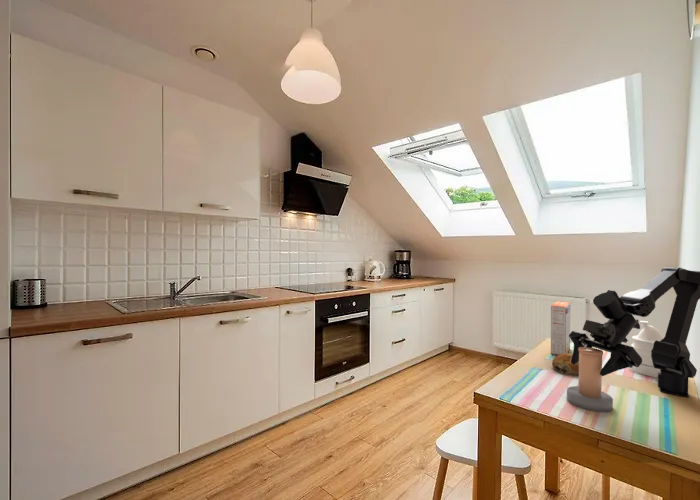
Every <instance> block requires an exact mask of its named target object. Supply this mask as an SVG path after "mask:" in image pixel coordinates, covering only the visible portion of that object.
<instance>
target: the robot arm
mask: <svg viewBox="0 0 700 500" xmlns="http://www.w3.org/2000/svg"><path fill="white" fill-rule="evenodd" d="M672 288H673V291H674V293H675V294H676V296H675V300H674V303H673V307H672V310H671V314H670V317H669V320H668V321H669V322H668V325H667V327H666V330H665V336H664V337H663V339H662V340H661V341H657V340H656V341H655V342H654V346H653V349H652V351H651V352H652V353H651V358H652V362H653V366H654V368H657V369H660V373H658V377H657V388H659V391H660V392H662V393H666V394H671V395H675V396H681V397H685V398H690V394H689V378H690V379H693V378H695V377H696V375H697V373H698V370H697V368H696V367H695V366H694V364H693V363H692V362H691V359H690V357H691V353H690V351H689V347H688V346H687V341H688V338H689V333H690V330H691V327H692V326H691V325H692V322H693V320H694V319H693V318H694V316H695V312H696V309H697V308H696V307H697V305H698V301H699V300H700V271H698V270H689V269H685V268H682V267H672V266H666V267H663V268H662V269H661V271H660V272H659V273H658V274H657V275H655V277H652V279H651V280H649V281H648V282H647V283H645V284H644V285H643V286H641V287H640V288H639V289H637V290H636V289H635V290H631V291H628V292H627V293H625V294H622V295H620V296H619V295H618V292H617V291H615V290H610V289H609V290H607V291H606V292H602V293H600V294H598V295H596V296H594V298H593V300H592V303H593V305H594V306H595V307H596V308H597V309H598V311H599V312H600V314H602V316H603V317H604V318H606V319H607V322H604V323H601V322H599V321H593V320H589V319H586V320H585V322H584V324H583V327H582V331H585V333H584V332H581V331H577V330H572V331H570V334H569V337H570V342H572V343H573V351H572V354H573V355H572V359H571V363H572V364H573V365H574V364H576V363H577V362H578V361H579V351H578V348H579V347H590V348H595V349H599V350H601V351H603V352H604V351H605V352H607V353H609V354H610V356H609V359H608V360H607V361H606V362H605V364H604V365H603V366H602V370H601V371H600V375H601V376H602V377H604V376H607V375H609V374H613V373H615V372H617V371H621V370H624V369H628V368H627V367H630V368H632V367H633V366H635V367H639V366H640V364H641V363H642V358H641V356H640V355H639V354H638V353H637V352H636V350H635V349H634V348H633V347H631V345H627V342H629V340H628V338H627V336H628V335H629V334H630V332H631V331H632V329H636V330H641V325H640V323H639V319H637V318H636V317H634V316H637V317H642V318H646V317H648V316H649V315H650V314H651V313H652V312H653V311H654V310H655V309H656V302H657V301H658V300H659V299H660V298H661V297H662V296H664V295H665V294H666V293H667V292H669V290H671V289H672ZM586 332H587V333H589V336H590V337H591V338H592V339H590V337H588V335H587V334H586ZM623 343H625V344H623Z"/></svg>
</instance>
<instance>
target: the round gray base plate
mask: <svg viewBox="0 0 700 500" xmlns="http://www.w3.org/2000/svg"><path fill="white" fill-rule="evenodd" d="M566 400H567V401H568V402H569V403H570V404H572V405H573V406H576V407H578V408H581V409H583V410H587V411H591V412H598V413H608V412H611V411H613V407H614V405H613V404H614V399H613V397H612V396H611V395H610V394H608V393H606V392H604V391H602V390H601V398H597V399H596V398H589V397H585V396H583V395H581V394H579V393H578V385H576V386H568V387H567V389H566Z"/></svg>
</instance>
